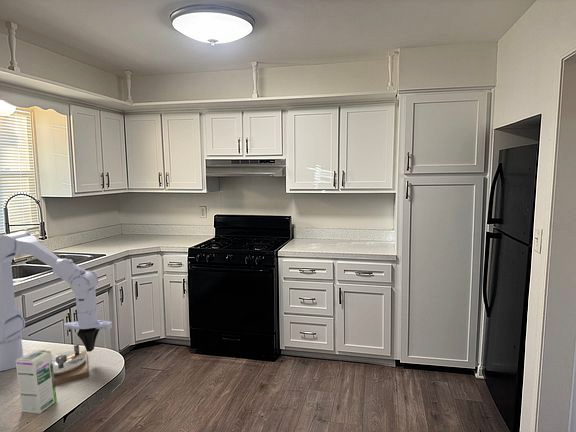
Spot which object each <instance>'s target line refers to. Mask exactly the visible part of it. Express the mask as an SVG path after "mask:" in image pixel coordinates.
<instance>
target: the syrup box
mask: <svg viewBox="0 0 576 432" xmlns="http://www.w3.org/2000/svg"><path fill="white" fill-rule="evenodd" d="M26 354H27V355H25V356H23V357H21V358H20V359H17V360H16V368H15V369H16V376H17V382H18V390H19V399H20V400H19V401H20V406H21V407H20V408H21V412H23V413H26V414H27V413H28V414H35V415H36V414H37V415H40V414H42V413H43V412H44V411H45V410H47V409H48V408H49V407H51V406H52V405H53V404H55V403H56V402H57V401H58V400H57V392H56V385H55V381H54V372H53V363H52V355H53V354H52V351H51V350H45V349H40V350H39V349H37V350H35V349H34V350H32V351H30V352H29V353H26Z"/></svg>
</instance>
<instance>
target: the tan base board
mask: <svg viewBox="0 0 576 432" xmlns="http://www.w3.org/2000/svg"><path fill="white" fill-rule="evenodd" d="M80 352H82V353H84V354H85V362H84V364H83V365H82V366H80V367H79V368H77V369H75V370H73V371H71V372H68V373H65V374H61V375H56V376H54V381H55V386H56V385H60V384H64V383H68V382H72V381H76V380H80V379H84V378H88V377H89V366H88V356H87V355H88V354H87V350H86V349H85V350H81V351H80Z"/></svg>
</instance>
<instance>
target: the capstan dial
mask: <svg viewBox="0 0 576 432" xmlns="http://www.w3.org/2000/svg"><path fill="white" fill-rule="evenodd" d="M51 355H52V363H53V372H54V376H56V375H61V374H65V373H68V372H71V371H73V370H75V369H77V368H79V367H80V366H82V365H83V364H84V362H85V354H84V353H82V352H81V351H80V345H79V344H77V343H75V344H74V345H73V350H72V351H71V350H69V351H63V352H59V353H56V354H51Z"/></svg>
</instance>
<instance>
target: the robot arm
mask: <svg viewBox="0 0 576 432" xmlns="http://www.w3.org/2000/svg"><path fill="white" fill-rule="evenodd" d="M19 255H20V256H21V255H30V256H32V257H34V258H36V259H37V260H39V261H40V262H43V263H44V264H46V265H47V266H49V267H51V268H52V273H53V274H54V275H56V276H57V277H59V278H60V279H62V280H63V281H64V282H66V283H67V284H68V285H69V287H70V290H71V291H72V292H73V293H74V297H75V303H76V305H75V306H76V316H77V321H71V322H70V321H69V322H66V323H64V326H63V327H64V331H69V330H78V332H77V333H76V335H77V337H79V339H80V340H81V341H82V344H83V345H84V348H85V350H86V353H87V352H88V353H89V352H92V351H93V350H95V344H96V340H97V337H98V335H99V333H100V330H108V331H109V330H111V329H113V322H112V321H107V320H100V319H99V318H98V306H97V294H96V292H97V291H96V286H98V283H99V278H98V275H97V274H96V273H95V272H94V271H92V270H86V269H85V268H82V267H80V266H79V265H77V264H76V263H74V260H72V259H71V258H69V259H68V258H60V257H59V256H57V255H56V254H55V253H54V252H52V251H51V250H50V249H49V248H47V247H46V246H44V245H43V244H42V243H41V242H39V240H38V238H37V237H36V236H34V235H33V234H31V233H30V232H28V231H27V230H20V231H19V230H18V231H16V232H12V233H8V234H1V235H0V372H2V371H6V370H11V369H12V370H13V369H16V360H17V359H20V358H21V357H23V356H25V355H27V354H28V353H24V351H23V349H24V348H23V342H22V341H23V339H22V335H23V330H24V329H25V328H26V321H25V318H24V317H23V314H22V310H21V309H19V308H18V307H16V300H15V289H14V280H13V279H14V278H13V268H12V260H14V259H15V258H16V257H17V256H19Z"/></svg>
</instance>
